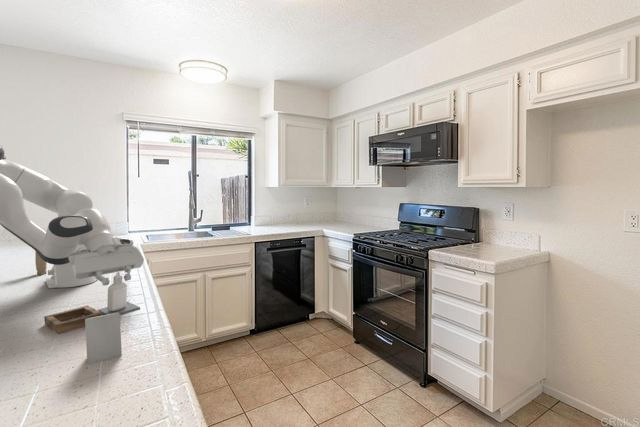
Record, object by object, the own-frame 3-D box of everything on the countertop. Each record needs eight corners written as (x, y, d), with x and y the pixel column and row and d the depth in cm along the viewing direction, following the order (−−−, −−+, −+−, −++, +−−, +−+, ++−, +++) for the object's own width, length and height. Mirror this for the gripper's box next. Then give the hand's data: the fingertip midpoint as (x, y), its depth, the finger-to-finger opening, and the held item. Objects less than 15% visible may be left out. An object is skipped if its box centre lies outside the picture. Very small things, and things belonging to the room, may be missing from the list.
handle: (34, 276, 149) (32, 243, 148) (35, 273, 154) (32, 241, 152) (48, 274, 152) (46, 242, 151) (48, 271, 157) (46, 240, 156)
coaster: (98, 311, 107) (98, 309, 107) (127, 303, 114) (127, 301, 114) (110, 317, 102) (110, 315, 102) (140, 308, 109) (140, 307, 109)
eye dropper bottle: (128, 309, 107) (129, 272, 107) (108, 312, 103) (109, 274, 103) (125, 305, 110) (126, 270, 110) (105, 308, 107) (106, 271, 106)
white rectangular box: (121, 355, 79) (119, 315, 78) (87, 364, 75) (84, 321, 74) (120, 349, 82) (118, 310, 81) (87, 357, 78) (85, 316, 77)
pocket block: (44, 324, 96) (44, 316, 96) (88, 312, 105) (87, 305, 105) (57, 334, 90) (57, 325, 90) (102, 321, 99) (102, 313, 99)
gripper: (68, 247, 102) (82, 283, 97) (137, 239, 118) (151, 269, 113) (64, 259, 105) (77, 295, 100) (131, 250, 121) (146, 280, 116)
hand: (117, 281), depth 107 cm, fingers open, 5 cm apart
